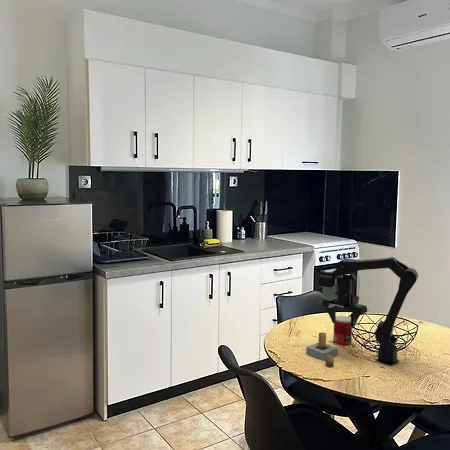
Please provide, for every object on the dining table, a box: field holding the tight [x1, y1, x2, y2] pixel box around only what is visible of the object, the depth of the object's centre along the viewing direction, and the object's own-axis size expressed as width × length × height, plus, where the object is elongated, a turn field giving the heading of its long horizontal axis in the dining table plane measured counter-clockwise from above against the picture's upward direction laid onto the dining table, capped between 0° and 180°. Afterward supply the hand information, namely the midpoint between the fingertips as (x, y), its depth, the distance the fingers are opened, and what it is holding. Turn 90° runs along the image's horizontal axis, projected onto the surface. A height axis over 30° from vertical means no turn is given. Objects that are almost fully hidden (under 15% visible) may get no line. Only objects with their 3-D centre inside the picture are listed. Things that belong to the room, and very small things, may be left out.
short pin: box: [325, 355, 335, 368], centre depth 185 cm, size 3×3×4 cm
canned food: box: [332, 315, 353, 346], centre depth 210 cm, size 8×8×11 cm
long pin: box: [317, 332, 327, 350], centre depth 196 cm, size 3×3×9 cm
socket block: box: [305, 342, 338, 362], centre depth 196 cm, size 9×9×3 cm
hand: (343, 325), depth 198 cm, fingers open, 9 cm apart
